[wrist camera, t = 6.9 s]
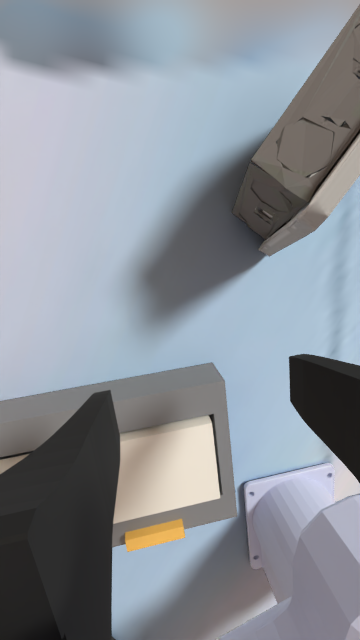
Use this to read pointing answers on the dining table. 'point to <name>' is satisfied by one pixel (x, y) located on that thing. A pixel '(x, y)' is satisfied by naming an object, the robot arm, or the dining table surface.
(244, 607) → the dining table surface
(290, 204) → the electrical switch
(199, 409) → the switch unit
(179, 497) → the right button
